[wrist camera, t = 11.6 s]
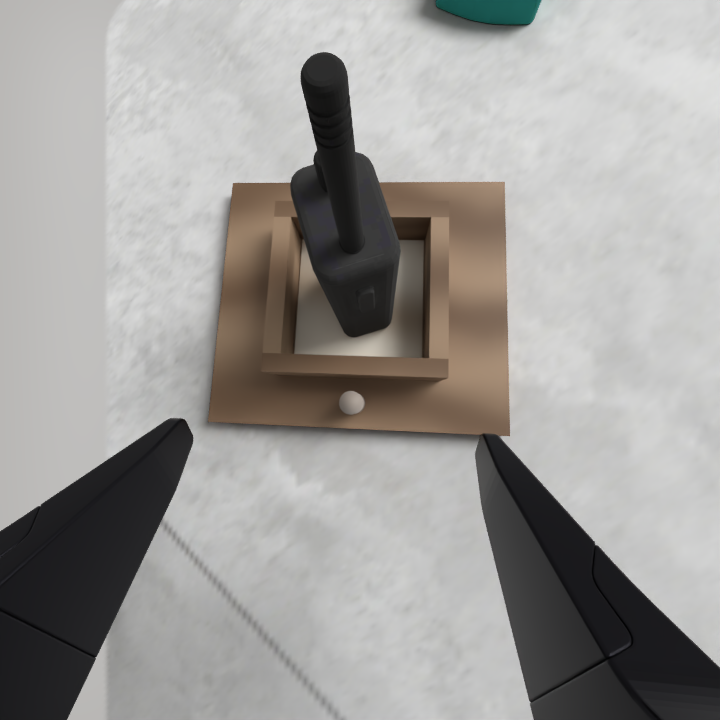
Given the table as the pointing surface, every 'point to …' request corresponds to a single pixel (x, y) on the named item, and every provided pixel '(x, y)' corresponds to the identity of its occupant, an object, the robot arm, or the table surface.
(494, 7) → the digital multimeter
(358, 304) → the walkie-talkie
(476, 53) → the table surface
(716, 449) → the table surface
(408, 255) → the wooden frame board
